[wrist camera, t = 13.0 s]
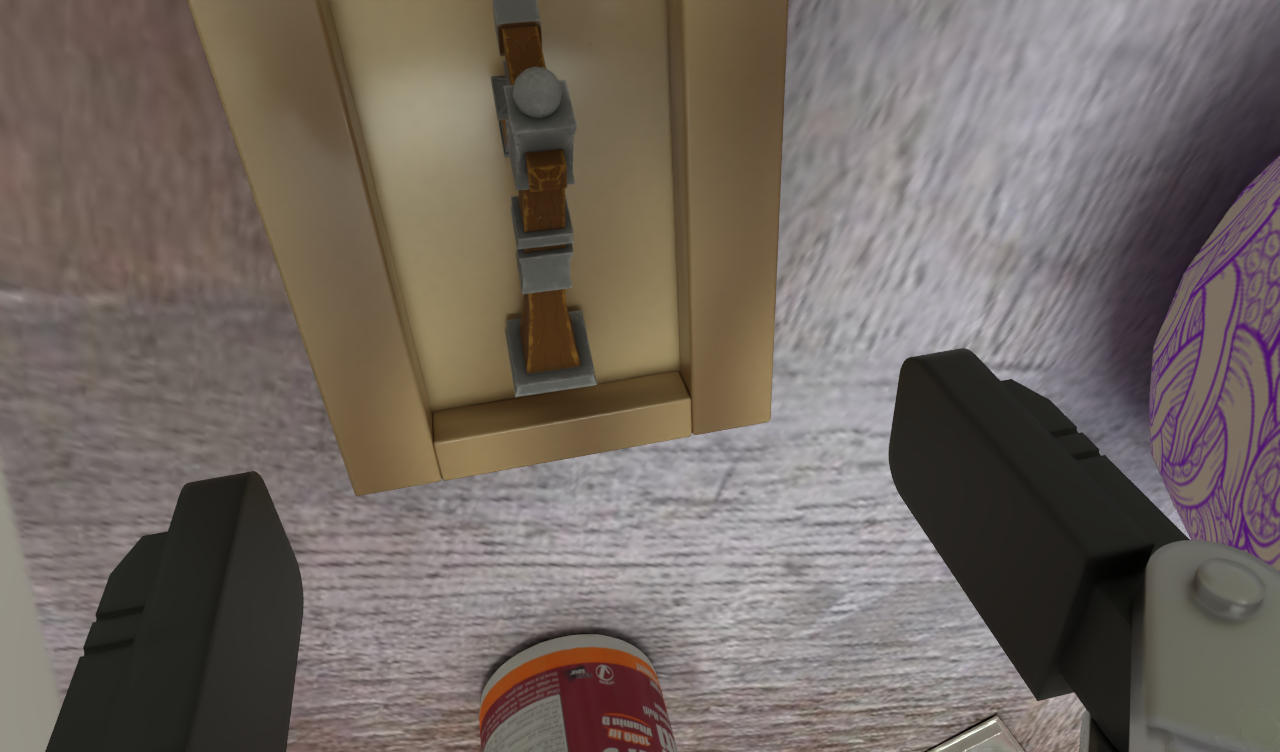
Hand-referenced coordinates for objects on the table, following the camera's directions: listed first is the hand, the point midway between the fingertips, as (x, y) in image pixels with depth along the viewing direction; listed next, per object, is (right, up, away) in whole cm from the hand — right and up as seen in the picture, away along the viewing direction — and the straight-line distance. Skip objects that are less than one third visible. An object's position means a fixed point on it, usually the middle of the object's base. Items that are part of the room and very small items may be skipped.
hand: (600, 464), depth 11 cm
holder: (-2, +6, +8) cm, 10 cm away
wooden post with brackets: (-2, +5, +7) cm, 9 cm away
